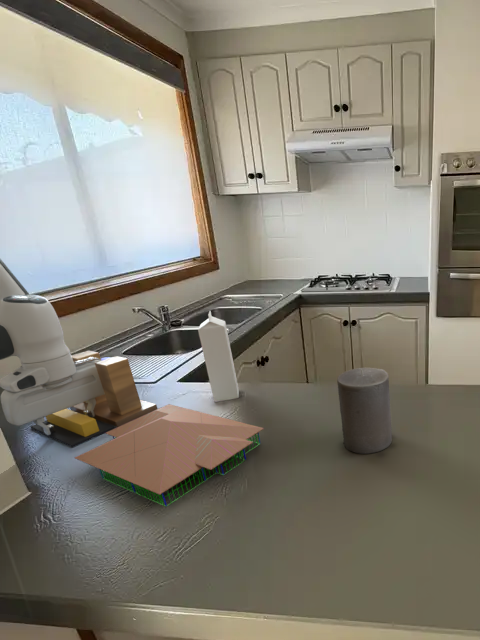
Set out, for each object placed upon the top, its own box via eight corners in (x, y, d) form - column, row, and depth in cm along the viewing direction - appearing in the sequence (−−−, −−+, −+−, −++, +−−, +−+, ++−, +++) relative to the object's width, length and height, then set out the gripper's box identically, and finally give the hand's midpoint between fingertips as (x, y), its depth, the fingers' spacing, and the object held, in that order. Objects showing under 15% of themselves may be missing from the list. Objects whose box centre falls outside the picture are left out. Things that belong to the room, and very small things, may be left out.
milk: (214, 402, 106) (194, 316, 98) (215, 393, 111) (196, 311, 103) (239, 398, 107) (221, 313, 99) (239, 389, 113) (222, 308, 105)
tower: (157, 409, 104) (142, 356, 99) (117, 427, 96) (98, 370, 91) (110, 395, 115) (94, 346, 110) (70, 410, 108) (52, 358, 103)
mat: (115, 428, 96) (114, 426, 96) (72, 447, 89) (71, 445, 89) (72, 412, 106) (71, 410, 106) (31, 428, 99) (30, 426, 99)
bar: (99, 430, 94) (95, 418, 93) (85, 437, 92) (80, 424, 91) (61, 416, 103) (57, 405, 102) (47, 421, 101) (42, 410, 100)
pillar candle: (333, 443, 83) (324, 372, 77) (367, 424, 89) (362, 357, 84) (369, 460, 76) (362, 384, 71) (403, 438, 83) (399, 366, 78)
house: (175, 516, 65) (162, 471, 63) (67, 467, 82) (53, 429, 79) (276, 445, 84) (270, 408, 81) (172, 416, 100) (163, 384, 97)
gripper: (92, 353, 102) (109, 404, 107) (-12, 383, 86) (13, 442, 91) (106, 356, 99) (123, 409, 104) (0, 388, 83) (26, 449, 88)
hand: (71, 425), depth 97 cm, fingers open, 7 cm apart
